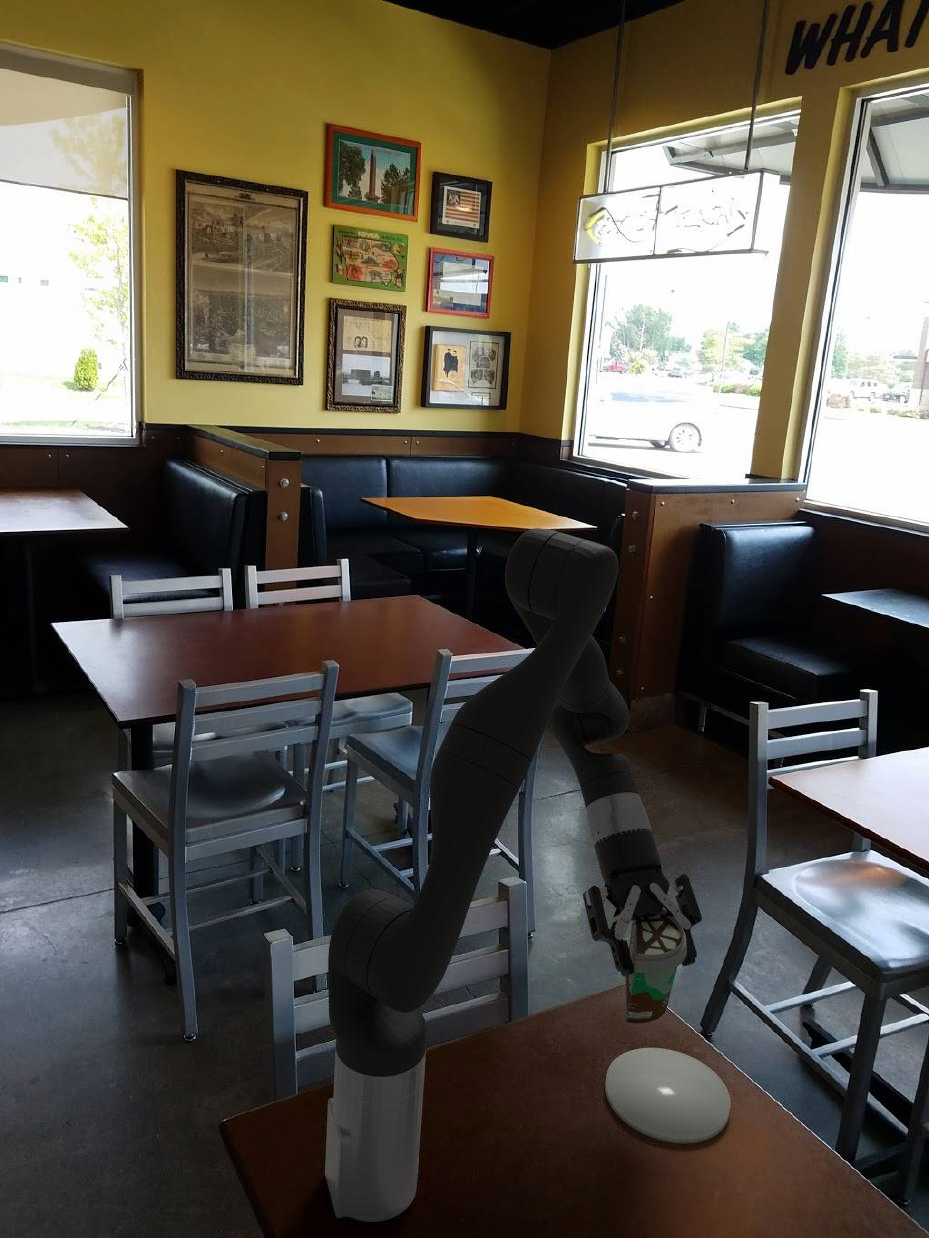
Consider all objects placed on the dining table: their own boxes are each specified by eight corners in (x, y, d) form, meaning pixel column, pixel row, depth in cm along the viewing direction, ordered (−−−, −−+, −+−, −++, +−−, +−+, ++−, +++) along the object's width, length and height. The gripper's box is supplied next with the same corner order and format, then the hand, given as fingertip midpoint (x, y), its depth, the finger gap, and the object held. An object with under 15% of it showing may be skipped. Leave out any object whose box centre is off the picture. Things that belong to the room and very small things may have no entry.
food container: (680, 1040, 111) (693, 965, 108) (626, 1031, 112) (637, 956, 109) (673, 973, 123) (685, 904, 120) (625, 965, 124) (635, 897, 121)
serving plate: (642, 1154, 110) (644, 1145, 110) (584, 1066, 124) (585, 1058, 123) (754, 1129, 115) (755, 1120, 115) (686, 1047, 129) (687, 1039, 128)
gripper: (583, 832, 117) (619, 972, 109) (685, 820, 122) (726, 954, 114) (560, 851, 123) (593, 985, 116) (657, 840, 128) (695, 967, 121)
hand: (659, 969), depth 115 cm, fingers closed on food container, 8 cm apart
